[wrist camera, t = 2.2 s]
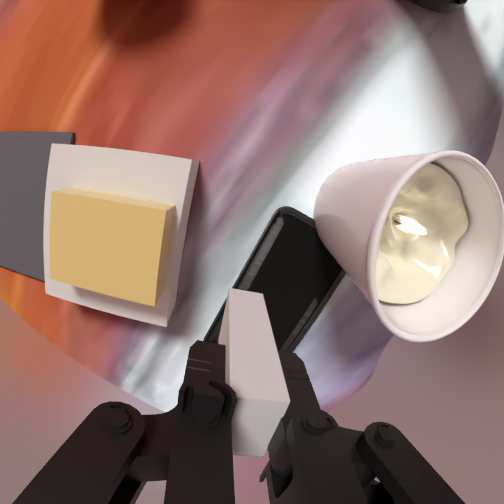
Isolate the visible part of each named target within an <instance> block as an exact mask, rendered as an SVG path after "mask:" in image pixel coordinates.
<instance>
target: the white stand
mask: <svg viewBox="0 0 504 504" xmlns="http://www.w3.org/2000/svg"><path fill="white" fill-rule="evenodd" d="M199 162H200V161H196V160H190V159H185V158H179V157H172V156H166V155H159V154H153V153H145V152H138V151H130V150H122V149H113V148H104V147H94V146H83V145H70V144H54V143H52V145H51V151H50V157H49V164H48V172H47V181H46V192H45V205H44V231H43V250H44V276H45V289H46V294H49V295H52V296H55V297H58V298H61V299H64V300H67V301H70V302H73V303H77V304H80V305H83V306H86V307H90V308H93V309H97V310H100V311H104V312H107V313H111V314H115V315H119V316H122V317H126V318H130V319H134V320H138V321H142V322H147V323H151V324H155V325H159V326H164V327H167V324H168V322H169V319H170V316H171V314H172V311H173V309H174V306H175V304H176V297H177V289H178V282H179V275H180V268H181V261H182V254H183V248H184V242H185V236H186V230H187V224H188V218H189V213H190V207H191V202H192V197H193V191H194V186H195V181H196V176H197V172H198V167H199ZM70 187H73V188H79V189H86V190H92V191H98V192H104V193H110V194H117V195H122V196H128V197H134V198H140V199H146V200H151V201H157V202H162V203H168V204H173V205H175V210H174V216H173V222H172V228H171V235H170V242H169V249H168V256H167V264H166V271H165V280H164V289H163V292H162V294H161V295H160V297H159V299H158V301H157V303H156V305H155V307H154V306H150V305H146V304H142V303H137V302H133V301H129V300H125V299H121V298H117V297H113V296H109V295H106V294H102V293H98V292H94V291H91V290H87V289H84V288H80V287H77V286H73V285H70V284H66V283H63V282H60V281H57V280H53V279H51V278H50V211H51V197H52V191H55V190H60V189H65V188H70Z"/></svg>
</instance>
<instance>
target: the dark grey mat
mask: <svg viewBox="0 0 504 504" xmlns="http://www.w3.org/2000/svg"><path fill="white" fill-rule="evenodd" d="M74 137H75V133H62V132H0V266H3V267H6V268H8V269H11V270H14V271H16V272H19V273H22V274H25V275H28V276H31V277H34V278H37V279H40V280H43V281H45V276H44V250H43V231H44V205H45V192H46V181H47V172H48V164H49V157H50V151H51V145H52V143H54V144H70V145H73V142H74Z"/></svg>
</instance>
